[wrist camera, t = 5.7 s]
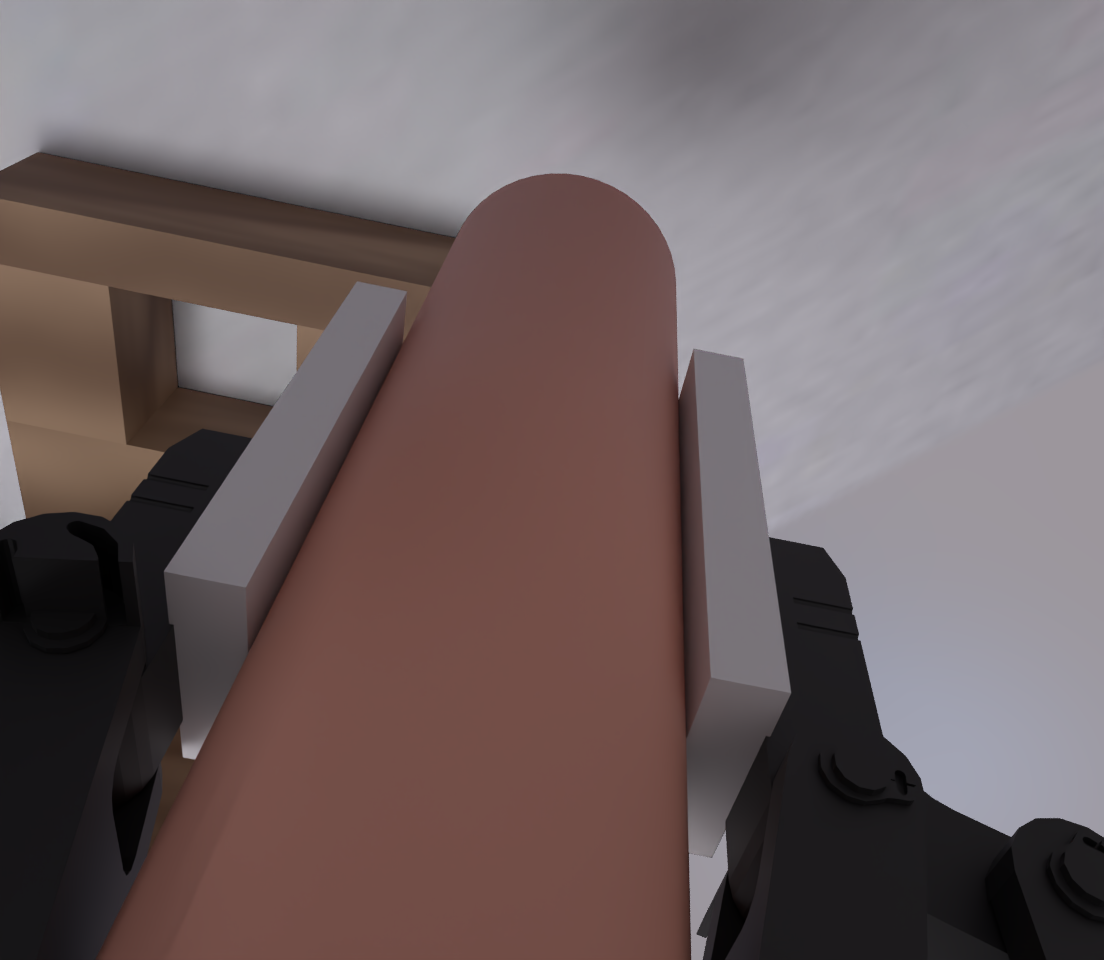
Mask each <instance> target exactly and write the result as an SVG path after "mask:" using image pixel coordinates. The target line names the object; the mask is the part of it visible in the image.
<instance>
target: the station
mask: <svg viewBox="0 0 1104 960" xmlns="http://www.w3.org/2000/svg"><path fill="white" fill-rule="evenodd" d="M455 239H456V238H453V237H448V236H443V235H438V234H433V233H428V232H424V231H419V230H414V229H409V228H404V227H399V226H394V225H390V224H385V223H380V222H375V221H370V220H365V219H360V218H355V217H351V216H346V215H341V214H336V213H331V212H326V211H321V210H317V209H312V208H307V207H302V206H297V205H292V204H287V203H283V202H278V201H273V200H268V199H263V198H258V197H253V196H248V195H244V194H239V193H234V192H229V191H224V190H219V189H214V188H210V187H205V186H200V185H195V184H190V183H185V182H180V181H175V180H171V179H166V178H161V177H156V176H151V175H146V174H141V173H137V172H132V171H127V170H122V169H117V168H112V167H107V166H103V165H98V164H93V163H88V162H83V161H78V160H73V159H68V158H64V157H59V156H54V155H49V154H44V153H39V152H37V153H35V154H33V155H31V156H29V157H27V158H25V159H23V160H21V161H19V162H17V163H15V164H13V165H11V166H9V167H7V168H5V169H3V170H1V171H0V390H1V395H2V400H3V405H4V410H5V415H6V420H7V425H8V430H9V435H10V440H11V445H12V450H13V455H14V460H15V465H16V470H17V475H18V480H19V485H20V490H21V495H22V500H23V505H24V510H25V515H26V519H27V518H30V517H34V516H37V515H41V514H46V513H62V512H79V513H84V514H90V515H96V516H101V517H104V518H105V519H107V520H109V521H111V520H112V519H113V517H114V516H115V515H116V513H117V512H118V511H119V510H120V508H121V507H122V506H123V505H124V503H125V502H126V501H130V499H131V494H132V493H133V492H134V491H135V489H136V488H137V487H138V486H139V484H140V483H141V482H142V480H143V479H147V477H148V473H149V472H150V470H151V469H152V468H153V467H154V465H155V464H156V463H157V461H158V460H159V459H160V458H161V456H162V455H163V454H164V453H165V451H166V450H167V449H168V448H169V447H171V446H172V445H174V444H176V443H178V442H179V441H181V440H183V439H185V438H186V437H188V436H190V435H192V434H194V433H195V432H197V431H199V430H201V429H208V430H213V431H218V432H223V433H228V434H233V435H238V436H243V437H248V438H253V437H254V435H255V434H256V432H257V431H258V429H259V428H260V426H261V425H262V423H263V422H264V420H265V419H266V417H267V416H268V414H269V413H270V411H271V410H272V408H273V407H272V406H267V405H263V404H258V403H253V402H248V401H243V400H238V399H233V398H228V397H223V396H218V395H213V394H208V393H204V392H199V391H194V390H189V389H184V388H179V387H178V382H177V368H176V354H175V340H174V327H173V313H172V299H173V300H178V301H182V302H187V303H192V304H197V305H202V306H207V307H212V308H217V309H222V310H226V311H231V312H236V313H241V314H246V315H251V316H256V317H261V318H266V319H271V320H275V321H280V322H285V323H290V324H295V325H297V371H298V369H299V368H300V366H301V365H302V363H303V362H304V360H305V359H306V357H307V356H308V354H309V353H310V351H311V350H312V348H313V347H314V345H315V344H316V342H317V341H318V339H319V338H320V336H321V335H322V333H323V332H324V330H325V329H326V327H327V326H328V324H329V323H330V321H331V320H332V318H333V317H334V315H335V314H336V312H337V311H338V309H339V308H340V306H341V305H342V303H343V302H344V300H345V299H346V297H347V296H348V294H349V293H350V291H351V290H352V288H353V287H354V285H355V284H356V282H362V283H367V284H372V285H377V286H382V287H387V288H392V289H397V290H402V291H407V299H406V311H405V323H404V335H403V343H404V341H405V339H406V337H407V335H408V333H409V331H410V329H411V327H412V325H413V323H414V321H415V319H416V317H417V315H418V313H419V311H420V309H421V307H422V305H423V303H424V301H425V299H426V297H427V295H428V293H429V291H430V289H431V287H432V285H433V283H434V281H435V279H436V277H437V275H438V273H439V271H440V269H441V267H442V265H443V263H444V261H445V259H446V257H447V255H448V253H449V251H450V249H451V247H452V245H453V243H454V241H455ZM194 761H195V759H189V758H184V757H183V754H182V744H181V734H180V727H179V729H178V731H177V733H176V734H175V736H174V738H173V740H172V742H171V744H170V746H169V747H168V749H167V751H166V753H165V755H164V757H163V759H162V761H161V767H162V796H161V800H160V804H159V808H158V812H157V816H156V821H155V825H154V829H153V833H152V837H151V841H150V845H149V849H148V853H149V851H150V849H151V847H152V845H153V843H154V841H155V839H156V837H157V835H158V833H159V831H160V829H161V827H162V825H163V823H164V821H165V819H166V817H167V815H168V813H169V811H170V809H171V807H172V805H173V803H174V801H175V799H176V797H177V795H178V793H179V791H180V789H181V787H182V785H183V783H184V781H185V779H186V777H187V775H188V773H189V771H190V769H191V767H192V765H193V763H194ZM148 853H147V855H148Z"/></svg>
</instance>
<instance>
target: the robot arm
mask: <svg viewBox="0 0 1104 960" xmlns="http://www.w3.org/2000/svg"><path fill="white" fill-rule="evenodd" d="M406 299H407V291H402V290H397V289H392V288H387V287H382V286H377V285H372V284H367V283H362V282H356V284H355V285H354V287H353V288H352V290H351V291H350V293H349V294H348V296H347V297H346V299H345V300H344V302H343V303H342V305H341V306H340V308H339V309H338V311H337V312H336V314H335V315H334V317H333V318H332V320H331V321H330V323H329V324H328V326H327V327H326V329H325V330H324V332H323V333H322V335H321V336H320V338H319V339H318V341H317V342H316V344H315V345H314V347H313V348H312V350H311V351H310V353H309V354H308V356H307V357H306V359H305V360H304V362H303V363H302V365H301V366H300V368H299V369H298V371H297V372H296V374H295V375H294V377H293V378H292V380H291V381H290V383H289V384H288V386H287V387H286V389H285V390H284V392H283V393H282V395H281V396H280V398H279V399H278V401H277V402H276V404H275V405H274V407H273V408H272V410H271V411H270V413H269V414H268V416H267V417H266V419H265V420H264V422H263V423H262V425H261V426H260V428H259V429H258V431H257V432H256V434H255V435H254V437H253V438H248V437H243V436H238V435H233V434H228V433H223V432H218V431H213V430H208V429H201V430H199V431H197V432H195V433H194V434H192V435H190V436H188V437H186V438H185V439H183V440H181V441H179V442H178V443H176V444H174V445H172V446H171V447H169V448H168V449H167V450H166V451H165V453H164V454H163V455H162V456H161V458H160V459H159V460H158V461H157V463H156V464H155V465H154V467H153V468H152V469H151V470H150V472H149V473H148V477H147V479H143V480H142V482H141V483H140V484H139V486H138V487H137V488H136V489H135V491H134V492H133V493H132V494H131V499H130V501H126V502H125V503H124V505H123V506H122V507H121V508H120V510H119V511H118V512H117V513H116V515H115V516H114V517H113V519H112V520H111V521H109V520H107V519H105V518H104V517H101V516H96V515H90V514H84V513H79V512H62V513H46V514H41V515H37V516H34V517H30V518H27V519H23V520H20V521H16V522H13V523H11V524H10V525H8V526H6V527H4V528H3V529H1V530H0V960H95V959H96V957H97V955H98V953H99V951H100V949H101V947H102V945H103V943H104V941H105V939H106V937H107V935H108V933H109V931H110V929H111V927H112V925H113V923H114V921H115V919H116V917H117V915H118V913H119V911H120V909H121V907H122V905H123V903H124V901H125V899H126V897H127V895H128V893H129V891H130V889H131V887H132V885H133V883H134V881H135V879H136V877H137V875H138V873H139V871H140V869H141V867H142V865H143V863H144V861H145V859H146V857H147V853H148V849H149V845H150V841H151V837H152V833H153V829H154V825H155V821H156V816H157V812H158V808H159V804H160V800H161V796H162V767H161V761H162V759H163V757H164V755H165V753H166V751H167V749H168V747H169V746H170V744H171V742H172V740H173V738H174V736H175V734H176V733H177V731H178V729H179V727H180V734H181V744H182V754H183V757H184V758H189V759H196V757H197V755H198V753H199V751H200V749H201V747H202V745H203V743H204V741H205V739H206V737H207V735H208V733H209V731H210V729H211V727H212V725H213V723H214V721H215V719H216V717H217V715H218V713H219V711H220V709H221V707H222V705H223V703H224V701H225V699H226V697H227V695H228V693H229V691H230V689H231V687H232V685H233V683H234V681H235V679H236V677H237V675H238V673H239V671H240V669H241V667H242V665H243V663H244V661H245V659H246V657H247V655H248V653H249V651H250V649H251V647H252V645H253V643H254V641H255V639H256V637H257V635H258V633H259V631H260V629H261V627H262V625H263V623H264V621H265V619H266V617H267V615H268V613H269V611H270V609H271V607H272V605H273V603H274V601H275V599H276V597H277V595H278V593H279V591H280V589H281V587H282V585H283V583H284V581H285V579H286V577H287V575H288V573H289V571H290V569H291V567H292V565H293V563H294V561H295V559H296V557H297V555H298V553H299V551H300V549H301V547H302V545H303V543H304V541H305V539H306V537H307V535H308V533H309V531H310V529H311V527H312V525H313V523H314V521H315V519H316V517H317V515H318V513H319V511H320V509H321V507H322V505H323V503H324V501H325V499H326V497H327V495H328V493H329V491H330V489H331V487H332V485H333V483H334V481H335V479H336V477H337V475H338V473H339V471H340V469H341V467H342V465H343V463H344V461H345V459H346V457H347V455H348V453H349V451H350V449H351V447H352V445H353V443H354V441H355V439H356V437H357V435H358V433H359V431H360V429H361V427H362V425H363V423H364V421H365V419H366V417H367V415H368V413H369V411H370V409H371V407H372V405H373V403H374V401H375V399H376V397H377V395H378V393H379V391H380V389H381V387H382V385H383V383H384V381H385V379H386V377H387V375H388V373H389V371H390V369H391V367H392V365H393V363H394V361H395V359H396V357H397V355H398V353H399V351H400V349H401V347H402V345H403V335H404V323H405V311H406ZM679 443H680V487H681V532H682V576H683V621H684V665H685V710H686V754H687V799H688V843H689V854H694V855H699V856H705V857H710V858H712V857H713V855H714V853H715V851H716V849H717V847H718V845H719V843H720V841H721V838H722V836H723V834H724V832H725V830H726V841H727V857H728V871H727V873H726V875H725V877H724V879H723V881H722V883H721V885H720V887H719V889H718V890H717V892H716V894H715V896H714V899H713V900H712V903H711V904H710V906H709V908H708V910H707V912H706V914H705V917H704V918H703V921H702V923H701V925H700V927H699V930H698V932H697V935H700V936H702V937H705V938H706V937H707V941H706V946H705V951H704V956H703V960H1104V837H1102V836H1100V835H1099V834H1097V833H1095V832H1094V831H1092V830H1091V829H1089V828H1087V827H1084V826H1081V825H1078V824H1075V823H1072V822H1069V821H1066V820H1063V819H1060V818H1037V819H1034V820H1032V821H1030V822H1029V823H1027V824H1025V825H1023V826H1021V827H1020V828H1019V829H1018V830H1017V831H1016V832H1015V834H1014V835H1013V836H1012V837H1010V836H1008V835H1005V834H1003V833H1001V832H999V831H997V830H995V829H993V828H990V827H988V826H986V825H984V824H982V823H980V822H978V821H975V820H973V819H971V818H969V817H967V816H965V815H963V814H961V813H959V812H957V811H954V810H953V809H951V808H949V807H947V806H946V805H944V804H942V803H940V802H939V801H937V800H935V799H933V798H932V797H931V796H929V795H928V794H927V793H926V792H924V791H923V787H922V783H921V778H920V777H919V775H918V774H917V772H916V771H915V769H914V768H913V766H912V765H911V763H910V762H909V760H908V759H907V757H906V756H905V755H904V754H903V753H902V752H900V751H899V750H898V749H897V748H896V747H895V746H894V745H892V744H891V743H890V742H889V741H888V740H887V739H886V738H884V737H883V734H882V730H881V726H880V722H879V717H878V713H877V709H876V705H875V700H874V696H873V692H872V688H871V683H870V680H869V675H868V671H867V667H866V662H865V658H864V654H863V650H862V645H861V641H859V640H858V635H859V633H858V629H857V624H856V620H855V616H854V615H852V610H853V607H852V603H851V599H850V595H849V590H848V586H847V582H846V578H845V577H844V575H843V574H842V573H841V571H840V570H839V568H838V567H837V566H836V565H835V563H834V562H833V561H832V559H831V558H830V556H829V555H828V554H827V553H826V551H825V550H824V548H820V547H816V546H811V545H806V544H801V543H796V542H790V541H786V540H780V539H775V538H770V537H769V535H768V528H767V521H766V514H765V507H764V500H763V493H762V486H761V479H760V472H759V465H758V458H757V451H756V444H755V437H754V430H753V423H752V416H751V409H750V402H749V395H748V388H747V381H746V374H745V367H744V360H743V359H742V358H737V357H732V356H727V355H722V354H717V353H712V352H707V351H702V350H697V349H693V353H692V356H691V360H690V363H689V367H688V370H687V373H686V377H685V380H684V384H683V387H682V391H681V394H680V397H679Z"/></svg>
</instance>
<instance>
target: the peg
mask: <svg viewBox="0 0 1104 960" xmlns="http://www.w3.org/2000/svg"><path fill="white" fill-rule="evenodd" d="M95 960H691V933H690V888H689V843H688V799H687V754H686V710H685V665H684V621H683V576H682V532H681V487H680V443H679V398H678V354H677V309H676V278H675V268H674V264H673V260H672V255H671V252H670V250H669V247H668V245H667V242H666V240H665V238H664V236H663V234H662V233H661V231H660V229H659V227H658V226H657V225H656V223H655V222H654V221H653V219H652V218H651V217H650V215H649V214H648V213H647V212H646V211H645V210H644V209H643V208H642V207H641V206H640V205H639V204H638V203H637V202H635V201H634V200H633V199H631V198H630V197H629V196H627V195H626V194H625V193H623V192H621V191H619V190H618V189H616V188H614V187H613V186H610V185H608V184H605V183H603V182H601V181H598V180H595V179H591V178H588V177H584V176H579V175H571V174H544V175H536V176H532V177H528V178H524V179H521V180H518V181H515V182H513V183H511V184H508V185H506V186H504V187H502V188H501V189H499V190H497V191H496V192H494V193H492V194H491V195H490V196H488V197H487V198H486V199H485V200H483V201H482V202H481V203H480V204H479V205H478V206H477V207H476V208H475V209H474V210H473V211H472V212H471V214H470V215H469V216H468V218H467V219H466V221H465V222H464V224H463V225H462V227H461V229H460V231H459V233H458V235H457V237H456V239H455V241H454V243H453V245H452V247H451V249H450V251H449V253H448V255H447V257H446V259H445V261H444V263H443V265H442V267H441V269H440V271H439V273H438V275H437V277H436V279H435V281H434V283H433V285H432V287H431V289H430V291H429V293H428V295H427V297H426V299H425V301H424V303H423V305H422V307H421V309H420V311H419V313H418V315H417V317H416V319H415V321H414V323H413V325H412V327H411V329H410V331H409V333H408V335H407V337H406V339H405V341H404V343H403V345H402V347H401V349H400V351H399V353H398V355H397V357H396V359H395V361H394V363H393V365H392V367H391V369H390V371H389V373H388V375H387V377H386V379H385V381H384V383H383V385H382V387H381V389H380V391H379V393H378V395H377V397H376V399H375V401H374V403H373V405H372V407H371V409H370V411H369V413H368V415H367V417H366V419H365V421H364V423H363V425H362V427H361V429H360V431H359V433H358V435H357V437H356V439H355V441H354V443H353V445H352V447H351V449H350V451H349V453H348V455H347V457H346V459H345V461H344V463H343V465H342V467H341V469H340V471H339V473H338V475H337V477H336V479H335V481H334V483H333V485H332V487H331V489H330V491H329V493H328V495H327V497H326V499H325V501H324V503H323V505H322V507H321V509H320V511H319V513H318V515H317V517H316V519H315V521H314V523H313V525H312V527H311V529H310V531H309V533H308V535H307V537H306V539H305V541H304V543H303V545H302V547H301V549H300V551H299V553H298V555H297V557H296V559H295V561H294V563H293V565H292V567H291V569H290V571H289V573H288V575H287V577H286V579H285V581H284V583H283V585H282V587H281V589H280V591H279V593H278V595H277V597H276V599H275V601H274V603H273V605H272V607H271V609H270V611H269V613H268V615H267V617H266V619H265V621H264V623H263V625H262V627H261V629H260V631H259V633H258V635H257V637H256V639H255V641H254V643H253V645H252V647H251V649H250V651H249V653H248V655H247V657H246V659H245V661H244V663H243V665H242V667H241V669H240V671H239V673H238V675H237V677H236V679H235V681H234V683H233V685H232V687H231V689H230V691H229V693H228V695H227V697H226V699H225V701H224V703H223V705H222V707H221V709H220V711H219V713H218V715H217V717H216V719H215V721H214V723H213V725H212V727H211V729H210V731H209V733H208V735H207V737H206V739H205V741H204V743H203V745H202V747H201V749H200V751H199V753H198V755H197V757H196V759H195V761H194V763H193V765H192V767H191V769H190V771H189V773H188V775H187V777H186V779H185V781H184V783H183V785H182V787H181V789H180V791H179V793H178V795H177V797H176V799H175V801H174V803H173V805H172V807H171V809H170V811H169V813H168V815H167V817H166V819H165V821H164V823H163V825H162V827H161V829H160V831H159V833H158V835H157V837H156V839H155V841H154V843H153V845H152V847H151V849H150V851H149V853H148V855H147V857H146V859H145V861H144V863H143V865H142V867H141V869H140V871H139V873H138V875H137V877H136V879H135V881H134V883H133V885H132V887H131V889H130V891H129V893H128V895H127V897H126V899H125V901H124V903H123V905H122V907H121V909H120V911H119V913H118V915H117V917H116V919H115V921H114V923H113V925H112V927H111V929H110V931H109V933H108V935H107V937H106V939H105V941H104V943H103V945H102V947H101V949H100V951H99V953H98V955H97V957H96V959H95Z"/></svg>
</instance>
